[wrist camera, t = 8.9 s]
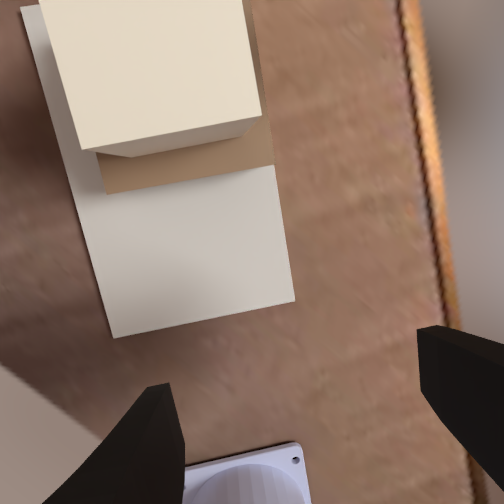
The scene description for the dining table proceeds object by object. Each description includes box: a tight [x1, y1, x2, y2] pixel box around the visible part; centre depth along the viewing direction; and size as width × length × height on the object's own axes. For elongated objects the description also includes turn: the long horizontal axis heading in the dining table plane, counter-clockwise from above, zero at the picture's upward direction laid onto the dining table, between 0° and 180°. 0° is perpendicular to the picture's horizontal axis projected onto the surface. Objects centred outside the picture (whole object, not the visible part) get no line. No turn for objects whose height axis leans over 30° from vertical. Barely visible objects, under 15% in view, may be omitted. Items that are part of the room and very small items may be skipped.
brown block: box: [96, 0, 276, 195], centre depth 16 cm, size 7×7×4 cm
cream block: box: [39, 0, 262, 158], centre depth 12 cm, size 4×4×6 cm
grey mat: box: [20, 4, 295, 339], centre depth 19 cm, size 16×10×1 cm, turn 10°
